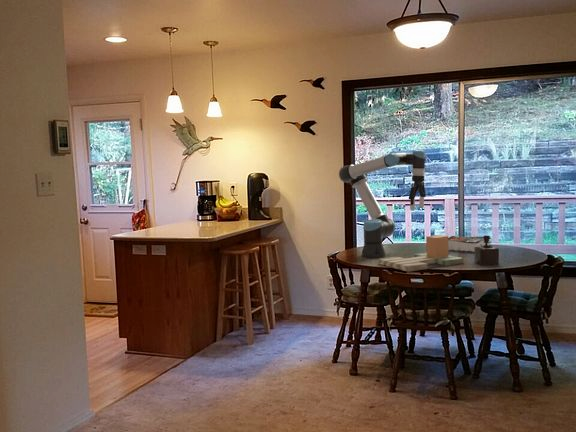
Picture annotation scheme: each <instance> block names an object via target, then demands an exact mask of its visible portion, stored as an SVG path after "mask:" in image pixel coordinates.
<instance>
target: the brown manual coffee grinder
mask: <svg viewBox="0 0 576 432" xmlns="http://www.w3.org/2000/svg"><path fill="white" fill-rule="evenodd" d="M482 237H483V239H484V243H485V244H483V245H481V244H480V245H481V246H478V247H474V252H473V253H474V254H473V255H474V256H473V257H474V259H473V261H474V263H475V264H477V265H480V266H494V265H493V264H498V265H499V264H500V263H499V262H500V261H499V259H500V258H499V257H500V248H498V247H495V246H492V245H491V244H492V240H491V239H490V238H491V236H490V235H489V234H484V235H483V236H482Z"/></svg>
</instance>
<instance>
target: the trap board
mask: <svg viewBox="0 0 576 432" xmlns="http://www.w3.org/2000/svg"><path fill="white" fill-rule="evenodd" d="M380 264H382V265H381V266H384V265H386V266H385V267H388V266H389V267H388V268H392V269H396V270H401V271H405V272H409V273H410V272H416V271H422V270H430V269H435V268H441V267H448V266H454V265H460V264H464V258H463V257H460V256H454V255H449V256H446V257H439V258H433V257H428V256H427V251H425V252H419V253H414V254H413V257H407V258H405V257H400V256H392V257H385V258H384V257H383V258H378V265H380Z"/></svg>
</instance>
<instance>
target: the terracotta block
mask: <svg viewBox="0 0 576 432" xmlns="http://www.w3.org/2000/svg"><path fill="white" fill-rule="evenodd" d="M448 238H449V236H448V235H441V234H437V235H436V234H434V235H429V236H426V240H425V242H426V243H425V244H426V252H427V256H428V257H433V258H439V257H446V256H449V252H450V250H449V246H448Z"/></svg>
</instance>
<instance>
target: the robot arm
mask: <svg viewBox="0 0 576 432" xmlns="http://www.w3.org/2000/svg"><path fill="white" fill-rule="evenodd" d="M395 166H412V170H411V171H412V172H411V174H412V176H411V181H412V182H413V183H411V186H410V191H409V195H408V200H410V201H409V210H410V211H415V210H416V209H415V207H416V199H415V198H416V195H417V194H419V200H418V202H419V204H418V206H419V208H424V207H425V205H424V203H425V198H426V197H427V194H426V187H425V172H426V170H425V168H426V167H425V166H426V151H425V150H424V149H423V150H422V149H415V150H413V151H412V152H396V153H394V152H392V153H388V154H386V155H384V156H380V157H377V158H374V159H370V160H367V161H365V162H361V163H357V164H349V165H344V166H342V167H340V169H339V172H338V177H339V179H340V180H341V182H344V183H346V184H350V185H351V188H352V189H355V191H356V192H357V194H358V196H359V198H360V199H361V201H362V203H363V205H364V207H365V209H366V211H367V214H368V215H369V217H370V219H367V220H365V221H364V222H363V248H362V251H361V257H362V256H363V257H362V258H365V257H369V258H368V259H380V258H384V256H385V257H386V250H385V248H384V245H383V238H387V237H390V236H392V235H393V234H394V233H395V230H396V224H395V221H394V220H393V219H392V218H389V217H388V215H387V213H384V211H383V210H382V208H381V206H380V205H379V202H378V201H377V199H376V197H375V195H374V194H373V192H372V189H371V188H370V186H369V183H368V180H369V179H368V177H367V176H368V174H370V173H374V172H376V171H381V170H384V169H388V168H392V167H395ZM379 257H380V258H379Z"/></svg>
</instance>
